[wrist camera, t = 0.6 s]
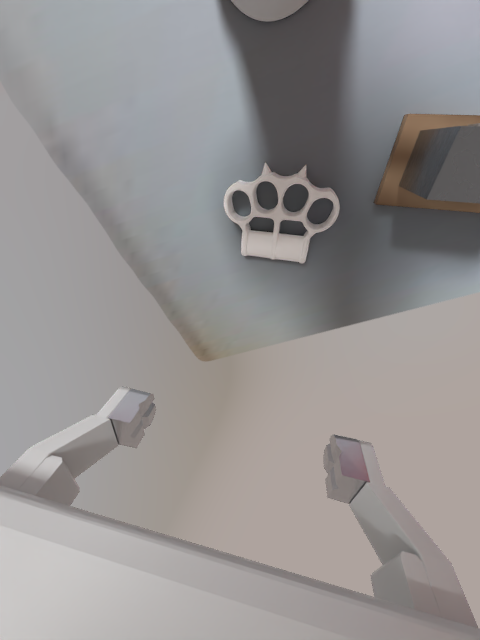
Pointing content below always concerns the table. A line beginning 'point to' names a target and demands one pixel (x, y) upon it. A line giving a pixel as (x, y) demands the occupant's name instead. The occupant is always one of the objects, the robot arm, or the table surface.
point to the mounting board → (400, 155)
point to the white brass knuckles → (279, 217)
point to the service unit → (445, 165)
